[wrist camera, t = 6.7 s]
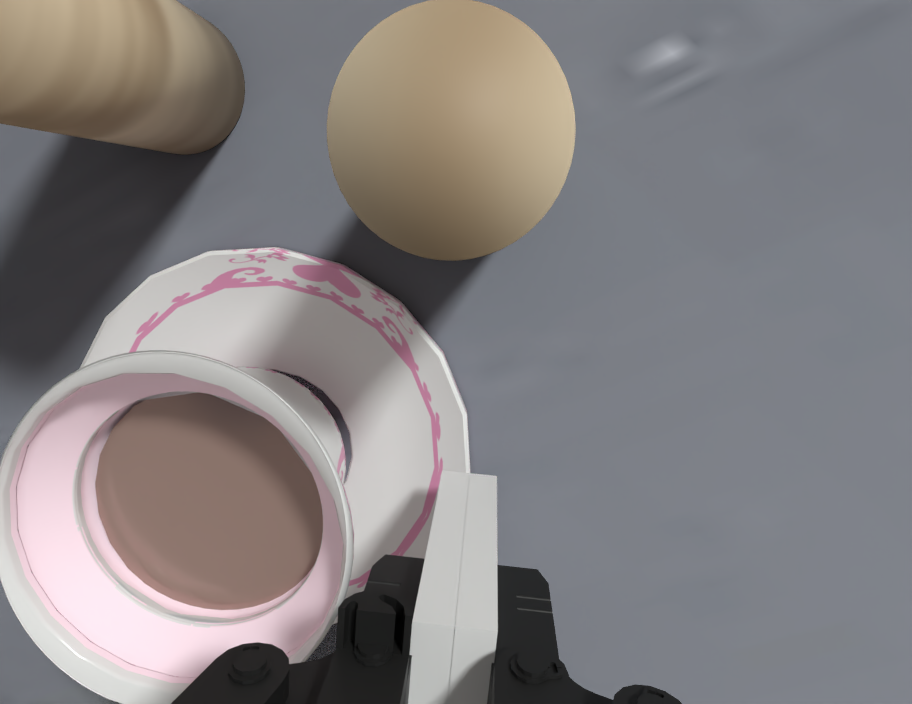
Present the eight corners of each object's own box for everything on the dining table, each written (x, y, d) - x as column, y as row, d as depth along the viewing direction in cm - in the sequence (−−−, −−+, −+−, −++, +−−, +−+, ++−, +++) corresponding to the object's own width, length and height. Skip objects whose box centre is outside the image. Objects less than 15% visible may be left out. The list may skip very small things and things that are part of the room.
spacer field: (-83, 781, 23) (-385, 1079, 15) (-182, -39, 17) (-767, -254, 9) (459, 855, 22) (439, 1209, 14) (556, 20, 16) (612, -159, 8)
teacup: (148, 175, 18) (-31, 159, 12) (539, 348, 18) (559, 419, 12) (40, 529, 20) (-150, 664, 14) (382, 673, 21) (336, 863, 15)
